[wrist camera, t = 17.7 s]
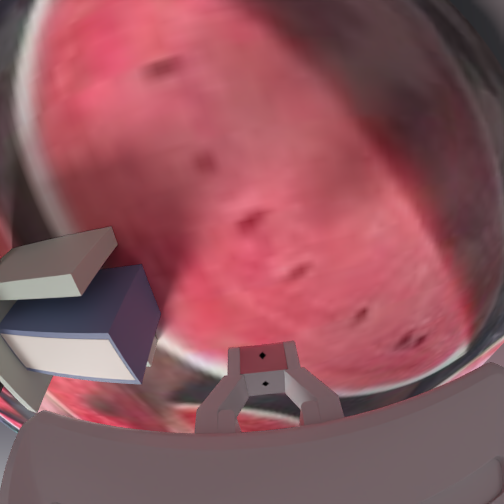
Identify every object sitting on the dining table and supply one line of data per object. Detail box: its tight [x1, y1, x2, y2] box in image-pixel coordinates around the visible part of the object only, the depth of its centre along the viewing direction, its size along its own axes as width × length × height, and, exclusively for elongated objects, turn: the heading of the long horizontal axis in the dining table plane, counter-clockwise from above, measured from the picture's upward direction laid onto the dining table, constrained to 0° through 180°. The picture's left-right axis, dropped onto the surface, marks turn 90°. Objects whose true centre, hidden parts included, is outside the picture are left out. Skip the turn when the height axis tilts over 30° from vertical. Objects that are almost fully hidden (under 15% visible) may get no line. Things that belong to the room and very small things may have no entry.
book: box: [0, 264, 161, 384], centre depth 14 cm, size 4×10×6 cm, turn 97°
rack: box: [0, 226, 158, 413], centre depth 13 cm, size 9×10×8 cm
